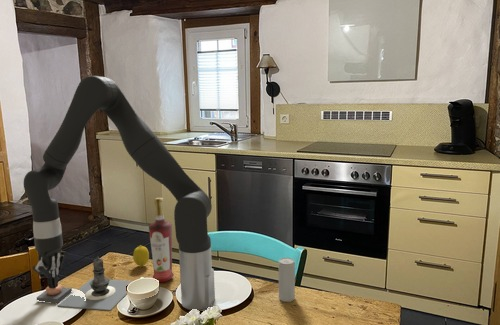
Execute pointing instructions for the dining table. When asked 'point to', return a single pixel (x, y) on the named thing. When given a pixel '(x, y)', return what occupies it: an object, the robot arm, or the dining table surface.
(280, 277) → the beverage can
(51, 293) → the button
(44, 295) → the button housing
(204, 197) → the robot arm
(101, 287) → the chess piece
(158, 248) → the liquor
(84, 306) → the slate board
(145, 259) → the lemon
